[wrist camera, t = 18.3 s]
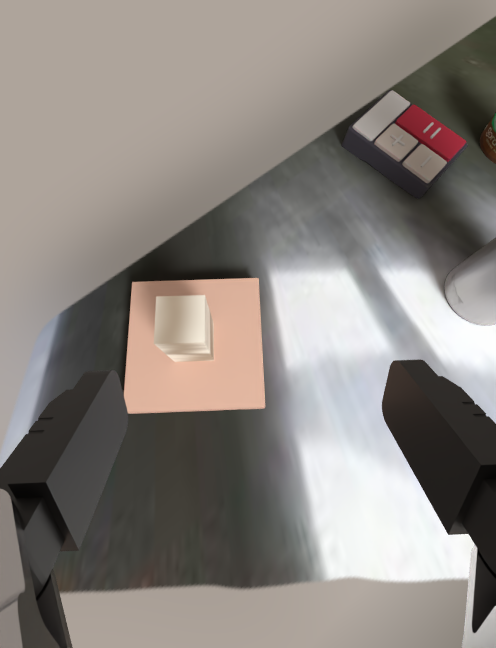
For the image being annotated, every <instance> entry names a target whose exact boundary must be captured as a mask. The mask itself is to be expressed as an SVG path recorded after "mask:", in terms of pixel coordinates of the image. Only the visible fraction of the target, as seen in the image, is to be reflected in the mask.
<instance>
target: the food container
mask: <svg viewBox="0 0 496 648" xmlns="http://www.w3.org/2000/svg"><path fill="white" fill-rule="evenodd" d="M480 146H481V149H482V151H483V153H484V154H485V156H486V157H487V158H488V159H489V160H491V161H492V162H494V163H495V164H496V113H495V114H494V116H493V117H492V119H491V120H490V122H489V123H488V125H487V126H486V128H485V129H484V131H483V132H482V134H481V137H480Z"/></svg>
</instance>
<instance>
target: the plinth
mask: <svg viewBox="0 0 496 648" xmlns="http://www.w3.org/2000/svg"><path fill="white" fill-rule="evenodd" d="M191 295H205V297H206V300H207V304H208V307H209V310H210V313H211V316H212V319H213V323H214V361H186V362H174V361H173V360H172V359H171V358H170V357H168V356H167V355H166V354H165V353H164V352H163V351H162V350H160V349H159V348H158V347H157V346H156V345H155V344H154V330H155V310H156V297H159V296H191ZM124 399H125V403H126V407H127V411H128V413H130V414H136V413H161V412H186V411H211V410H236V409H261V408H265V393H264V374H263V355H262V336H261V317H260V298H259V280H258V278H241V279H210V280H179V281H147V282H132V292H131V306H130V320H129V333H128V347H127V360H126V374H125V388H124Z"/></svg>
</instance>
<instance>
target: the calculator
mask: <svg viewBox="0 0 496 648" xmlns="http://www.w3.org/2000/svg"><path fill="white" fill-rule="evenodd" d="M467 146H468V145H467V143H466V141H465V140H464V139H463V138H461V137H460V136H458V135H457V134H456V133H454V132H453V131H451V130H450V129H449V128H447V127H446V126H444V125H443V124H442V123H440V122H439V121H437V120H436V119H434V118H433V117H432V116H430V115H429V114H427V113H426V112H425V111H423V110H422V109H420V108H419V107H418V106H416V105H412V104H411V103H409V102H408V101H407V100H405V99H404V98H403V97H401V96H400V95H398V94H397V93H396V92H394V91H392V90H389V91H388V92H386V93H385V94H384V95H383V96H382V97H381V98H380V99H379V100H378V101H377V102H375V103H374V104H373V105H372V106H371V107H370V108H369V109H368V110H367V111H365V112H364V113H363V114H362V115H361V116H360V117H359V118H358V119H357V120H356V121H354V122H353V123H352V124H351V125H350V126H349V127H348V130H347V132H346V135H345V137H344V139H343V142H342V147H344V148H345V149H346V150H348V151H349V152H351V153H352V154H354V155H355V156H356V157H358V158H359V159H361V160H364V161H366V162H367V163H368V164H370V165H371V166H372V167H374V168H375V169H376V170H378V171H379V172H380V173H382V174H383V175H384V176H386V177H387V178H388V179H390V180H391V181H392V182H394V183H395V184H397V185H398V186H400V187H401V188H402V189H404V190H405V191H407V192H408V193H410V194H411V195H413V196H414V197H415V198H418V199H419V198H421V197H422V195H423V194H424V193H425V192H426V191H427V190H428V189H429V188H430V187H431V186H432V185H433V184H434V183H435V181H436V180H437V179H438V178H439V177H440V176H441V175H442V174H443V173H444V172H445V171H446V170H447V169H448V168H449V166H450V165H451V164H452V163H453V162H454V161H455V160H456V159H457V158H458V157H459V156H460V154H461V153H462V152H463V151H464V150H465V149H466V148H467Z"/></svg>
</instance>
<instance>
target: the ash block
mask: <svg viewBox="0 0 496 648" xmlns="http://www.w3.org/2000/svg"><path fill="white" fill-rule="evenodd" d="M154 344H155V345H156V346H157V347H158V348H159V349H160V350H162V351H163V352H164V353H165V354H166V355H167V356H168V357H170V358H171V359H172V360H173V361H174V362H186V361H214V323H213V319H212V316H211V313H210V310H209V307H208V304H207V300H206V297H205V295H191V296H159V297H156V310H155V330H154Z"/></svg>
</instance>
